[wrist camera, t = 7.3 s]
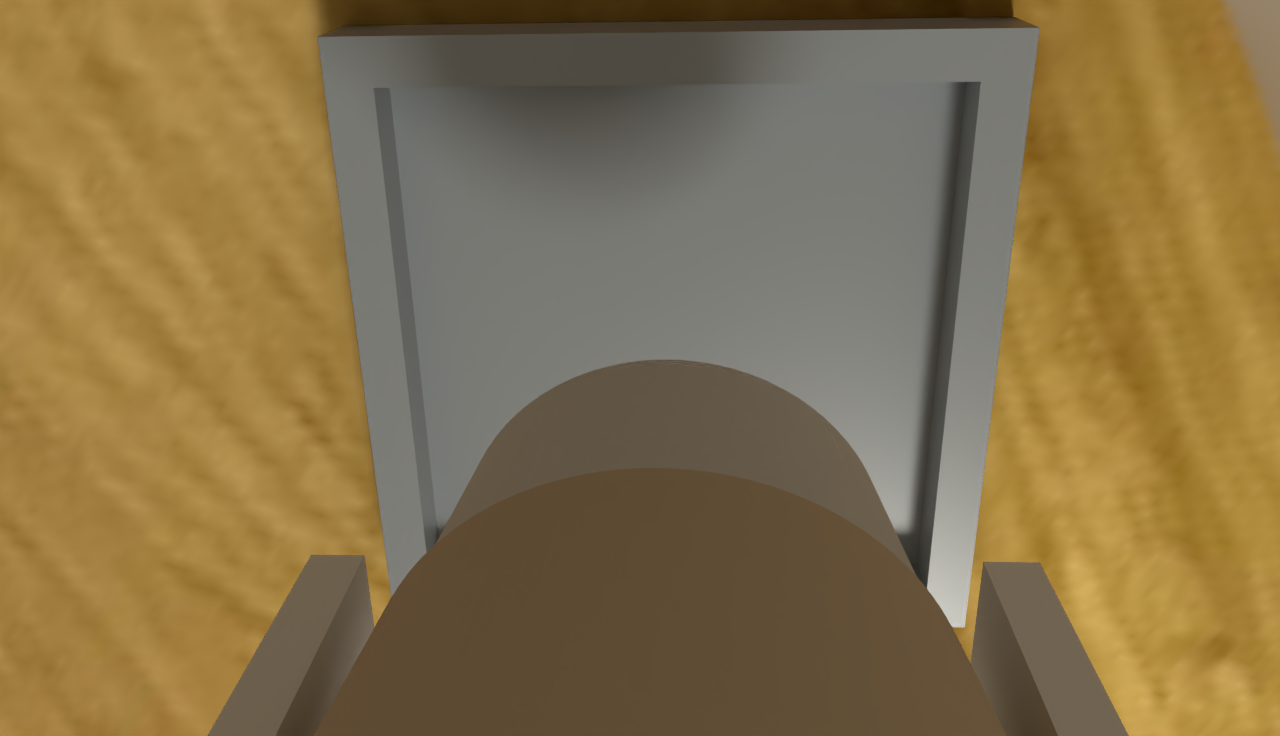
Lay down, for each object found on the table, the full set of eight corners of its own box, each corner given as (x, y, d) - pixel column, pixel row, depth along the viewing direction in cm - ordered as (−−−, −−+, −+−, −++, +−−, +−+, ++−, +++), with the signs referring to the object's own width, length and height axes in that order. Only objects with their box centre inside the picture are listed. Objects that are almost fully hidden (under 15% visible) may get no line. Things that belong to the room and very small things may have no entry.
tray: (344, 25, 23) (317, 36, 22) (1014, 17, 23) (1039, 27, 21) (411, 578, 29) (394, 620, 27) (948, 583, 28) (964, 627, 27)
